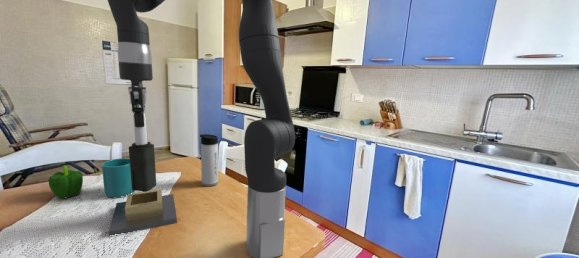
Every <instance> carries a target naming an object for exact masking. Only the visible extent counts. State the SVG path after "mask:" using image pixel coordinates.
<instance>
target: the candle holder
mask: <svg viewBox="0 0 579 258" xmlns="http://www.w3.org/2000/svg"><path fill="white" fill-rule="evenodd" d="M162 191H163V190H162V189H159V188H158V189H153V190H152V189H151V190H149V191H146V192H143V191H138V192H133V193H132V194H128V195H127V196H126V201H120V202H117V203H116V204H115V208H114V211H113V215H112V218H111V221H110V225H109V228H108V231H107V233H108V237H109V236H110V235H115V234H121V233H126V234H129V233H128V232H130V233H134V232H133V231H135V232H138V231H137V230H140V231H144V230H148V229H149V230H150V229H154V228H158V227H162V226H169V225H172V224H177V223H178V218H177V212H176V204H175V199H174V198H175V197H174V194H170V193H169V194H166V195H163V194H162ZM121 235H122V234H121Z"/></svg>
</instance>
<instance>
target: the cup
mask: <svg viewBox="0 0 579 258" xmlns="http://www.w3.org/2000/svg"><path fill="white" fill-rule="evenodd" d="M101 170H102V171H101V172H102V173H101V174H102V180H103V181H102V182H103V191H104V196H105V197H106V198H109V197H119V198H122V197H121V196H124V197H127V196H128V194H131V193H135V191H133V190H132V183H131V171H130V159H129V158H128V157H127V158H125V157H124V158H112V159H109V160H107V161H104V162H102V164H101ZM126 195H127V196H126Z"/></svg>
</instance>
